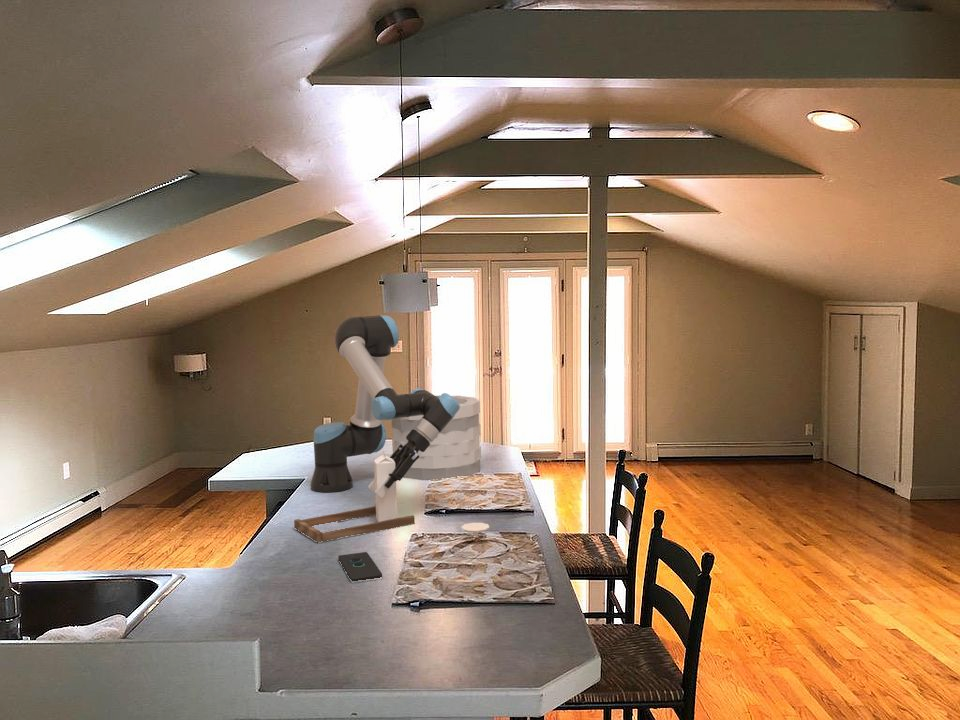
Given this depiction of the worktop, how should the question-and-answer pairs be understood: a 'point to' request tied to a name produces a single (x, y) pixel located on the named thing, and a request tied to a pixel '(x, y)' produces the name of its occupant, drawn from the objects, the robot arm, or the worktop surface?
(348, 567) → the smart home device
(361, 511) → the bay
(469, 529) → the hand towel holder
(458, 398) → the storage basket
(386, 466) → the milk
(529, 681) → the worktop surface
